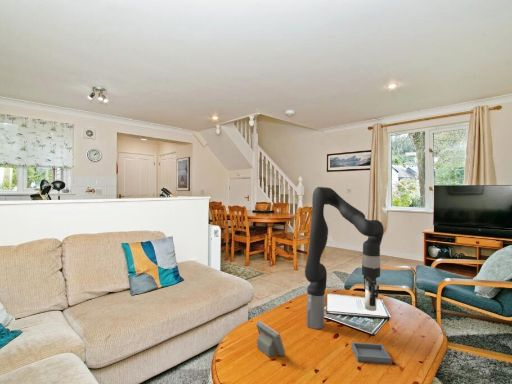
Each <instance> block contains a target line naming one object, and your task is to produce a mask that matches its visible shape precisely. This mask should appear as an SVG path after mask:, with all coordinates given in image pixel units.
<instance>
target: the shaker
mask: <svg viewBox="0 0 512 384" xmlns="http://www.w3.org/2000/svg"><path fill="white" fill-rule="evenodd" d="M364 290H365V291H364V294H365V295H364V296H365V297H364V309H365V310H367V311H371V312H375V311H377V300H378V298H375V306H370V294H369V291H368V285H366V288H365V289H364ZM370 290H372V289H370ZM373 295H374V294H373Z"/></svg>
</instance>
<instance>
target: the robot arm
mask: <svg viewBox="0 0 512 384" xmlns="http://www.w3.org/2000/svg"><path fill="white" fill-rule="evenodd" d="M325 205H328V206H332V207H334V208H335V209H336V210H337V211H338V212H339V214H340V215H341V216H342V218H344V219H345V220H346V221H347V222H349V223H350V224H352V225H353V226H354V227H355V229H356V230H357V231H358V232H359V233H360V234H361V235H364V236H365V237H367V240H365V241H364V242H363V244H362V259H361V275H362V276H363V289H364V290H365V288H366V285H368V291H369V294H370V306H375V298H377V299H378V298H379V290H380V286H379V285H378V282H377V279H378V278H380V277H381V244H382V240H383V236H384V232H385V231H384V230H385V228H384V224H383V223H382V222H381V221H380V220H378V219H371V220H370V219H368V218H366V215H365V214H364V213H363V211H361V210H359V209H357V208H356V207H354V206H353V205H352V204H351V203H349V202H348V201H346V200H345V199H344V198H342V197H341V195H339V194H338V193H337V191H335V190H334V189H332V188H331V187H325V186H317V187H315V188H314V190H313V192H312V204H311V206H312V207H311V209H312V211H311V212H312V213H311V223H310V224H311V226H310V234H309V243H308V244H309V245H308V251H307V253H308V254H307V259H306V264H305V266H304V276H305V278H306V280H307V281H308V282H309V285H308V286H307V289H306V290H307V294H306V296H307V297H306V299H307V301H306V326H307V328H311V329H315V330H316V329H317V330H319V329H320V330H321V329H323V328H324V327H325V295H326V294H325V291H326V288H327V278H328V276H327V273H328V272H327V269H326V267H325V265H324V264H323V263H322V262H321V258H322V255H323V252H324V250H325V249H326V246H327V242H328V236H329V227H328V224H327V221H326V219H325V215H324V214H325V212H324V209H325ZM370 289H372V290H370ZM373 294H374V295H373Z"/></svg>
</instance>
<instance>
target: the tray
mask: <svg viewBox="0 0 512 384" xmlns="http://www.w3.org/2000/svg"><path fill="white" fill-rule="evenodd" d="M350 346H351V350H352V352H353V354H354V357H355V358H356V361H357V362H358V363H372V364H383V365H384V364H385V365H392V358H391V356H390V355H389V353H388V351H387V349H385V347H384V345H383V344H381V343H366V342H365V343H364V342H352V341H351V345H350Z"/></svg>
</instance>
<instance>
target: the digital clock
mask: <svg viewBox="0 0 512 384" xmlns="http://www.w3.org/2000/svg"><path fill="white" fill-rule="evenodd" d="M255 323H256V324H255V325H256V329H257V332H258V335H259V336H258V337H257V339H256V340H257V341H256V343H257V344H256V347H257V349H258V350H259V351H261V352H262V353H263V354H264V355H265V356H267V357H268V358H270V357H273V356H275V355H279V356H281V357H283V356H286V355H285V354H286V351H285V347H284V344H283V339H282V337H281V334H280V333H279V332H278V331H276V330H275V329H273V328H272V327H270V326H269V325H267V324H265V323H264V322H263V321H260V320H257V321H256V322H255Z"/></svg>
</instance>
